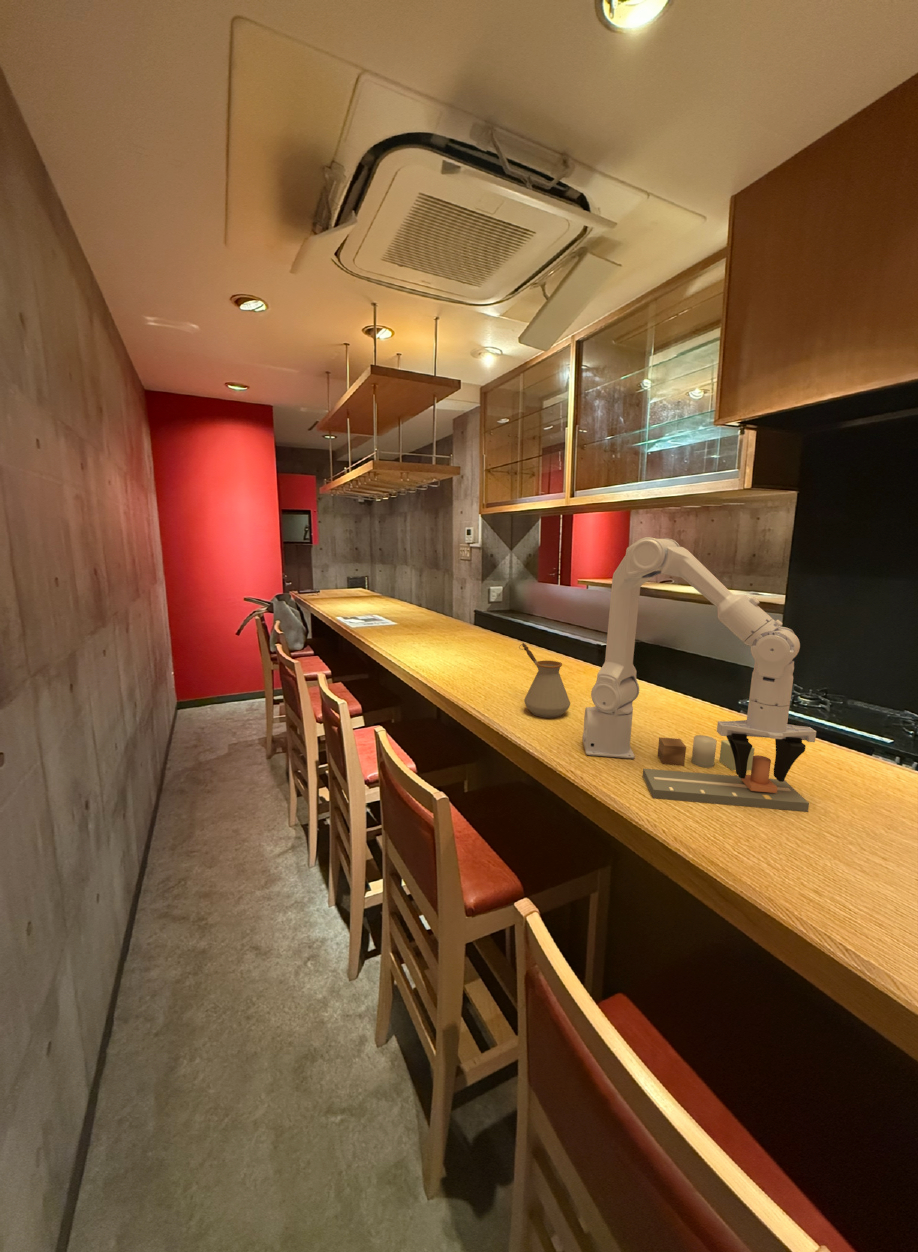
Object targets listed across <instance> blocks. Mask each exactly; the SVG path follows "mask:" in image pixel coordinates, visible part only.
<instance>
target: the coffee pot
mask: <svg viewBox="0 0 918 1252" xmlns="http://www.w3.org/2000/svg"><path fill="white" fill-rule="evenodd" d="M521 646H522V648H520V647H521ZM518 648H519V650H523V651H526V654H527V656H528V657H529V658H530V660H531V661H532V662H533V663H534V665H535V666H536V668H537V671H536V675H535V677H534V678H533V681H532V683H531V685H530V687H529V689H528V692H527V693H526V695H525V697H524V699H523V700H524V705H525V707H526V708H527V709H528V711H530V712H531V713H532V715H534V716H537V717H539V718H540V717H541V718H548V719H550V718H551V719H554V718H560V717H561V716H563V714H564V713H566V712H567V711H568V710H569V709H570V707H571V701H570V699H569V696H568V693H567V691H566V688H565V685H564V682H563V679H562V677H561V675H560V669H561V667H562V666H563V663H562V662H560V661H555V660H537V659H536V657H535V656H534V654H533V653H532V651H531V650H530V649H529V647H528V645H527V644H526V643H524V642H522V643H521V644H520V645H519V646H518Z"/></svg>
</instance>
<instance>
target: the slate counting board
mask: <svg viewBox="0 0 918 1252" xmlns="http://www.w3.org/2000/svg"><path fill="white" fill-rule="evenodd" d="M642 778H643V780H644V782H645V784H646V786H647V788H648V791H649V792H650V795H651V797H652V798H653V799H661V800H671V801H672V800H673V801H685V802H697V803H704V804H707V803H708V804H718V805H727V806H728V805H729V806H738V807H751V808H752V807H753V808H761V809H772V810H774V809H775V810H785V811H787V810H788V811H796V812H807V813H808V812H809V807H810V806H809V805H810V802H809V801H807V800H806V799H805V797H804V796H803V795H801V794H800V793H799V792H798V791H797V790H796V789H795V787H793V786H792V785H791V784H789V782H787V781H786V780H785V779H784V782H780V781H778V780H777V779H776V778H769V779H770V780H771V781H772V782H773V783H774V784H775V785H776V786H777V793H770V792H759V791H751V790H750V789H749V788H748V787H747V786H746V785H745V784H744V782H743V781H742V780H741V778H740V777H739V776H738V775H728V774H718V773H716V774H715V773H706V772H705V773H703V772H694V771H693V772H692V771H680V770H668V769H666V770H665V769H655V768H644V767H643V770H642Z"/></svg>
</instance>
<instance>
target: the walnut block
mask: <svg viewBox="0 0 918 1252" xmlns="http://www.w3.org/2000/svg"><path fill="white" fill-rule="evenodd" d="M686 753H687V746H686V745H685V743H684V742H683V740H681V739H680V738H676V737H675V738H673V737H672V738H670V737H658V747H657V757H658V759H659V760H660V762H661V764H662V765H665V766H668V765H669V766H678V767H685V763H686Z"/></svg>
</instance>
